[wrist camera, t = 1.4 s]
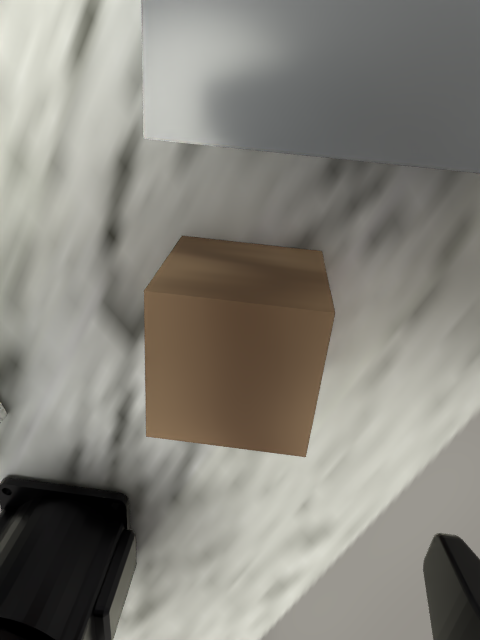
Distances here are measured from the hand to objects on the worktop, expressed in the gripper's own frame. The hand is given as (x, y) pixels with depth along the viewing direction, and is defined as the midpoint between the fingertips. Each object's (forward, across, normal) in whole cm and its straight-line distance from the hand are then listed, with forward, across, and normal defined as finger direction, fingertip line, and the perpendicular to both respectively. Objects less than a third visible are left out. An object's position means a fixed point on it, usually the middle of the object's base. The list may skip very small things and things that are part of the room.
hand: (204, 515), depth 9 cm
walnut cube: (+10, 0, 0) cm, 10 cm away
